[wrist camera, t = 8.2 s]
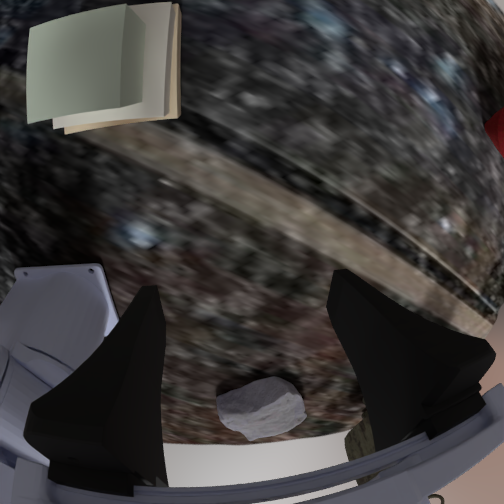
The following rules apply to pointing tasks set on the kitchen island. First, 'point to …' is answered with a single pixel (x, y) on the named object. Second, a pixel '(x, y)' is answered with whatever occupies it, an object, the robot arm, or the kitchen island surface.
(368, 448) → the tabletop clock
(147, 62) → the cream top block
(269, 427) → the stone block
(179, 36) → the maple base block
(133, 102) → the sage cube
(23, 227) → the kitchen island surface
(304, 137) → the kitchen island surface
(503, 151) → the strawberry
